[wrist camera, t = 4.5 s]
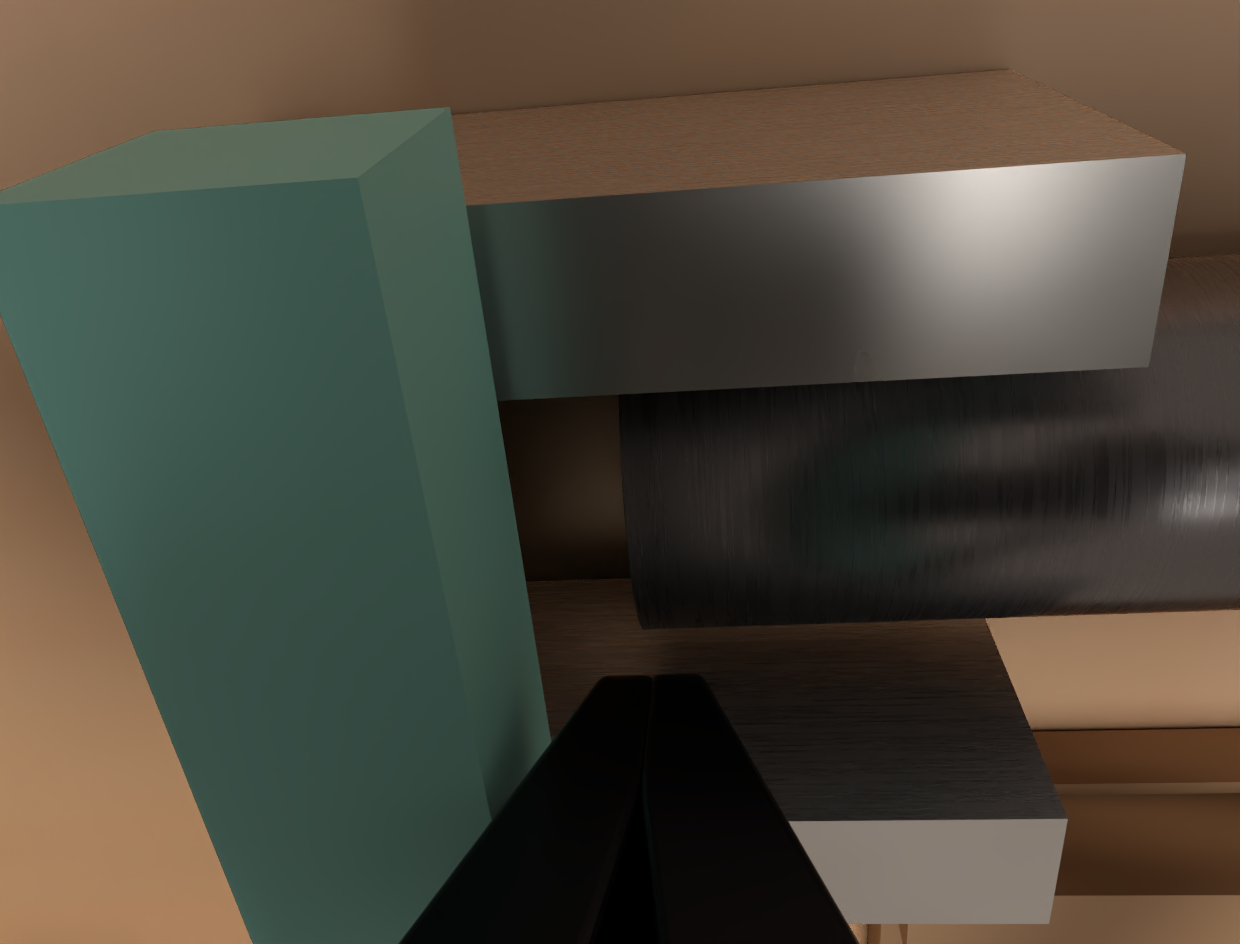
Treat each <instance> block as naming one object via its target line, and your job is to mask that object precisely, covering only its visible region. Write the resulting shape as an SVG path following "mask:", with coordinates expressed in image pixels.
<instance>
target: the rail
mask: <svg viewBox="0 0 1240 944" xmlns="http://www.w3.org/2000/svg"><path fill="white" fill-rule="evenodd" d="M1032 733H1033V736H1034V738H1035V741H1036V743H1037V745H1038V748H1039V750H1040V753H1041V755H1042V758H1043V760H1044V762H1045V765H1046V767H1047V770H1048V772H1049V774H1050V777H1051V779H1052V782H1053V784H1054V787H1055V789H1056V791H1057V794H1058V796H1059V799H1060V801H1061V803H1062V806H1063V808H1064V811H1065V813H1066V816H1067V818H1068V821H1067V827H1066V832H1065V838H1064V843H1063V849H1062V855H1061V860H1060V866H1059V871H1058V877H1057V883H1056V888H1055V894H1054V899H1053V905H1052V911H1051V916H1050V922H1049V924H868V943H867V944H1240V728H1218V729H1161V730H1104V731H1047V732H1032Z"/></svg>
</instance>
